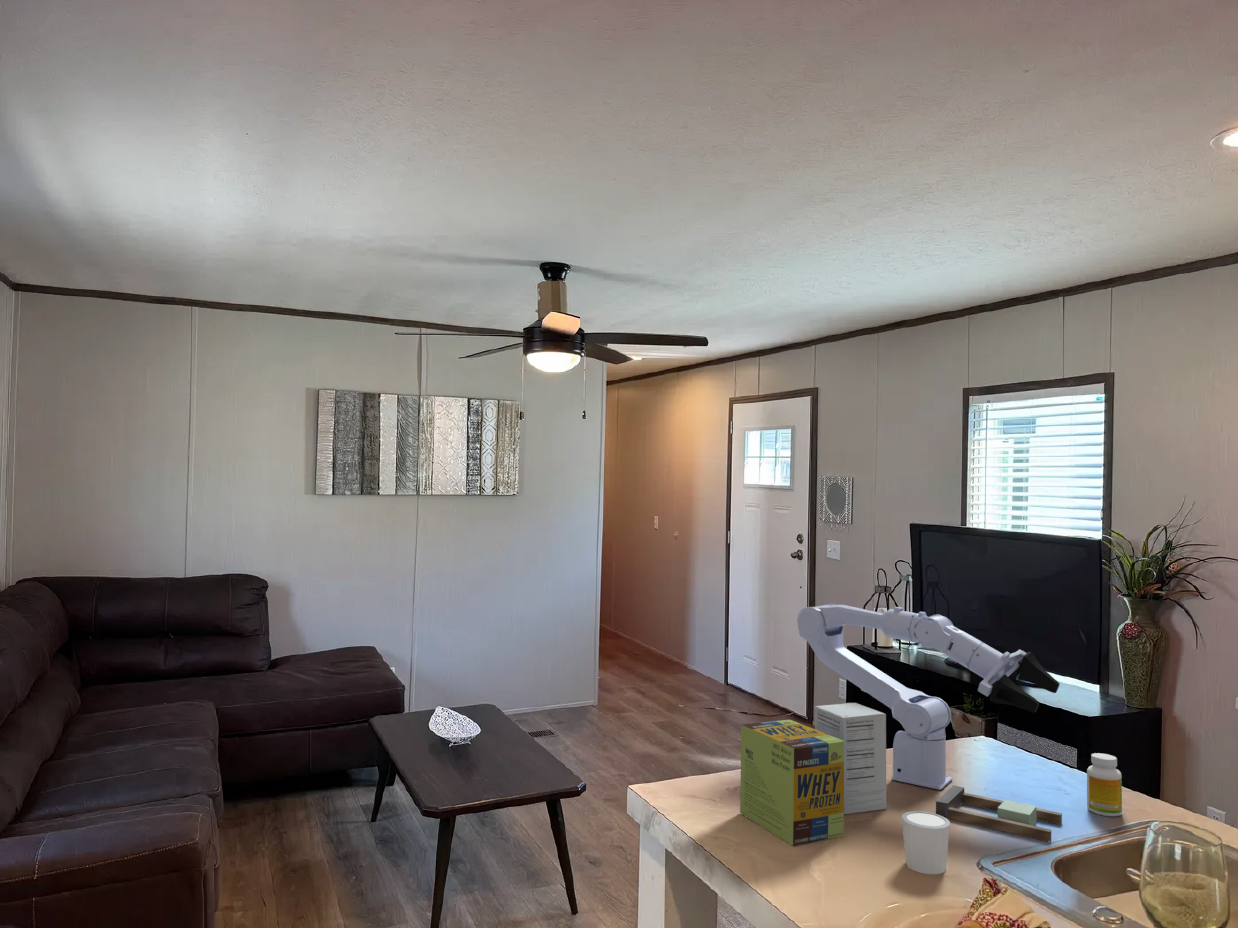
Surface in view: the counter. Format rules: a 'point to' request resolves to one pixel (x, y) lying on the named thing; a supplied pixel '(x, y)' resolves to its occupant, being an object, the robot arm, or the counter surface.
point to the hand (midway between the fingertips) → (1047, 697)
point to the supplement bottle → (1104, 786)
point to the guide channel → (956, 797)
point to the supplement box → (858, 752)
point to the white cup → (925, 841)
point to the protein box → (792, 781)
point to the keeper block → (1017, 812)
